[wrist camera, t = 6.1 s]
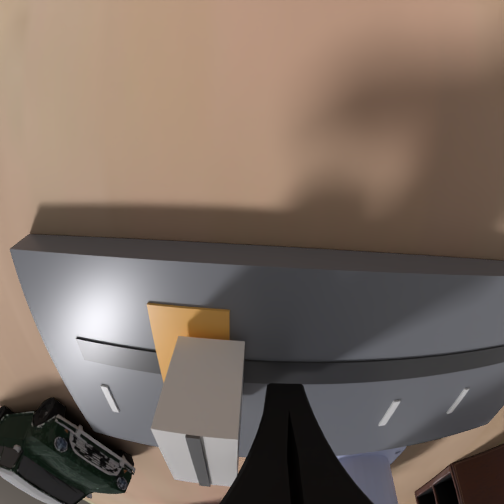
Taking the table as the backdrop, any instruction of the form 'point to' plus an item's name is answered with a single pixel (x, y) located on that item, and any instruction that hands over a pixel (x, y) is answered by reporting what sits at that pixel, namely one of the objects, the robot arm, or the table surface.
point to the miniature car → (58, 457)
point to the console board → (274, 332)
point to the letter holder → (468, 481)
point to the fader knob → (202, 411)
